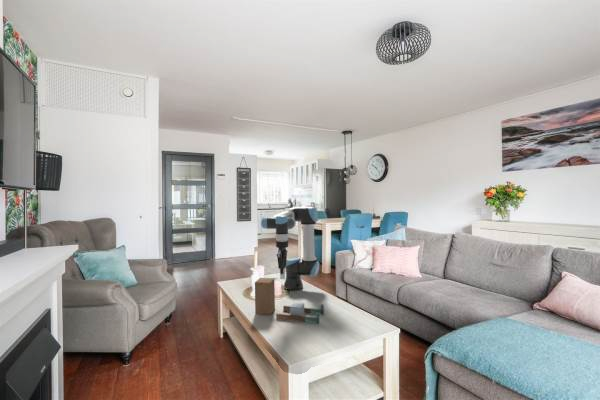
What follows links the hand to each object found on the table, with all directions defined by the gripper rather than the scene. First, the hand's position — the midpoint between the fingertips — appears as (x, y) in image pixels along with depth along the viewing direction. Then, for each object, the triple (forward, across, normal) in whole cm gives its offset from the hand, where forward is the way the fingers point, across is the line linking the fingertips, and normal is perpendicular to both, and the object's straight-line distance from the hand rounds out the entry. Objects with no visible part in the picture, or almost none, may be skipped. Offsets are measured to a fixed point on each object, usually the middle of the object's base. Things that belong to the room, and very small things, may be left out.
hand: (282, 278), depth 174 cm
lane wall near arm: (+22, -6, +11) cm, 26 cm away
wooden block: (+23, -2, -13) cm, 26 cm away
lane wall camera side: (+22, +6, +11) cm, 26 cm away
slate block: (+22, 0, +9) cm, 24 cm away
